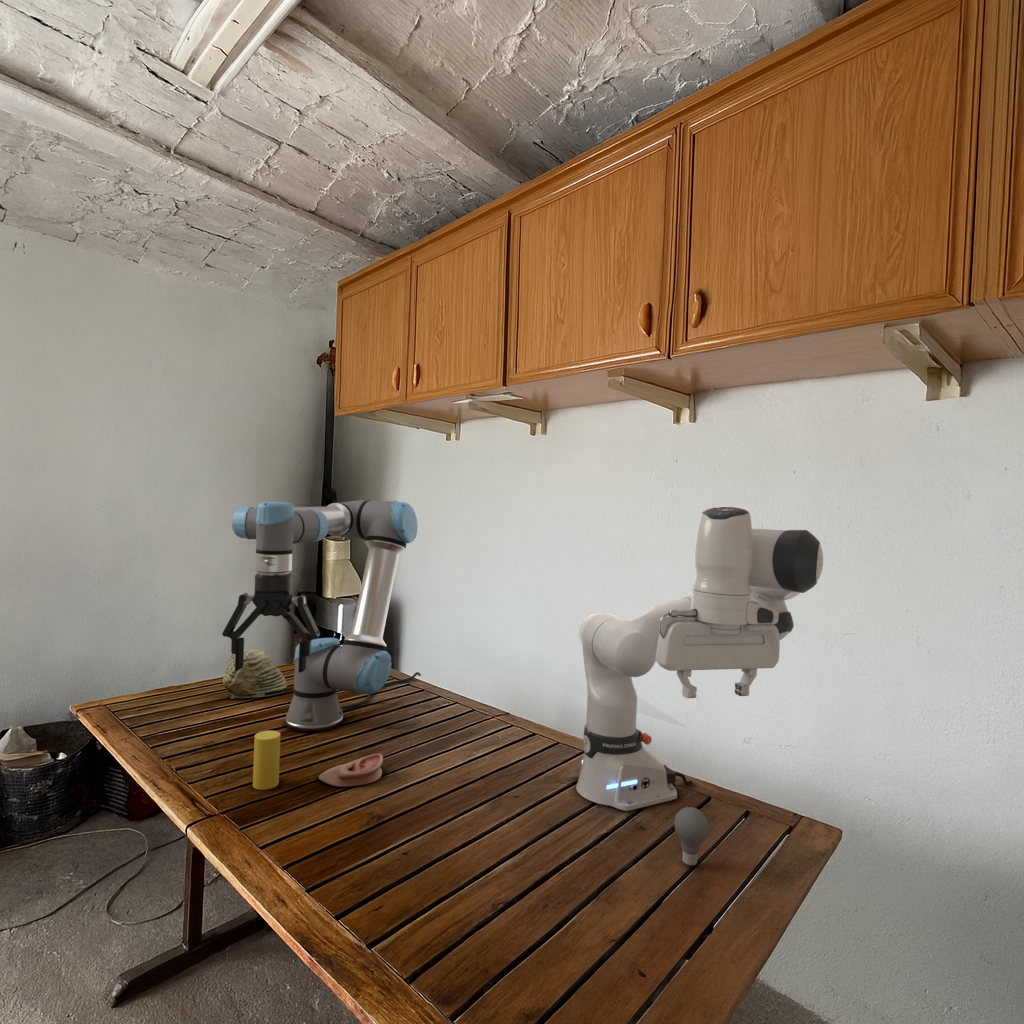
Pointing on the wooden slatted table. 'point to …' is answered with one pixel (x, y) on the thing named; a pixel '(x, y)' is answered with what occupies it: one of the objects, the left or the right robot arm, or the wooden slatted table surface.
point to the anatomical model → (354, 772)
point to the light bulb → (691, 832)
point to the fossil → (253, 676)
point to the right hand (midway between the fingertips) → (715, 696)
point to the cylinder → (266, 760)
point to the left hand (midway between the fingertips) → (270, 669)
